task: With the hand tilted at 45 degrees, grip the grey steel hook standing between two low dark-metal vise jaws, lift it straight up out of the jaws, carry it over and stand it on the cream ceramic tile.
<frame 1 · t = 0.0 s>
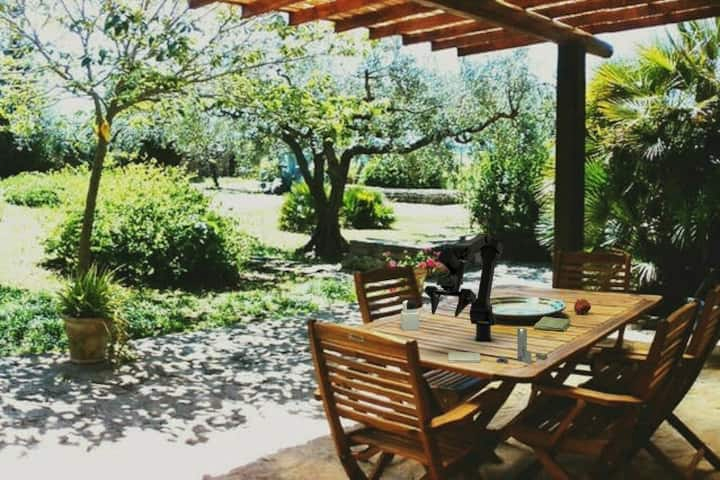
hand: (444, 315, 258), 15 cm above the table, tool tilted 35°, fingers open, 9 cm apart
red spiky fruit: (582, 315, 331), on the table
medicine bottle: (410, 329, 309), on the table
steel hook: (522, 359, 253), on the table
cream ceramic tile: (464, 358, 256), on the table
vise jaws: (522, 359, 253), on the table
washcloth: (552, 328, 306), on the table
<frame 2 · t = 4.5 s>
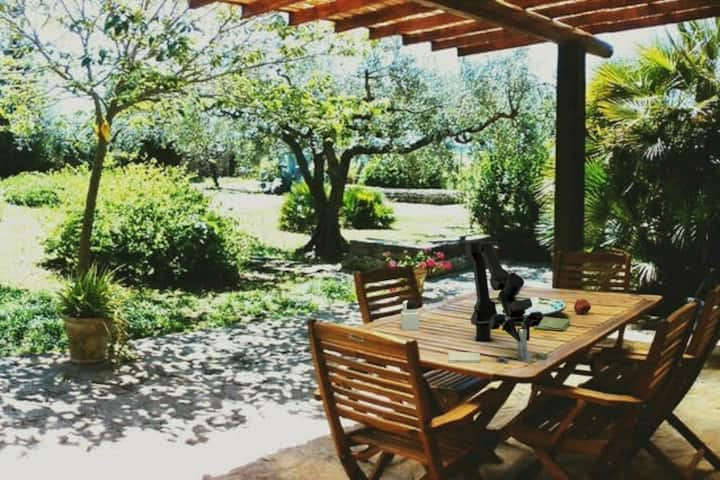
hand: (523, 340, 251), 7 cm above the table, tool tilted 45°, fingers closed on steel hook, 3 cm apart
steel hook: (522, 359, 253), on the table, touching gripper
everything else where it was.
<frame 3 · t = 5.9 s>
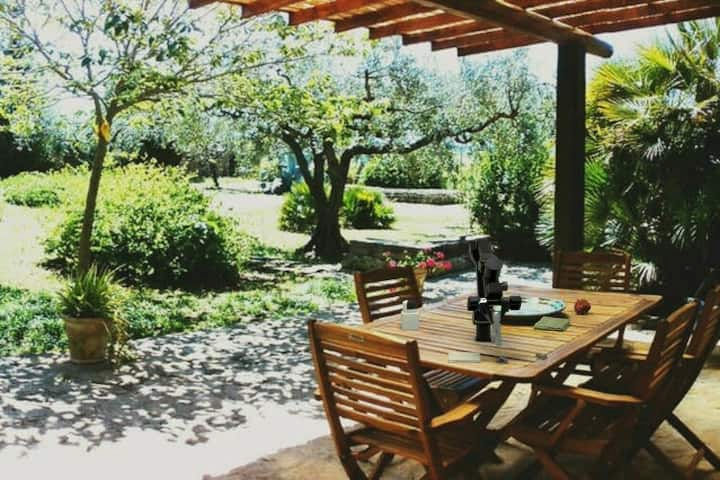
hand: (496, 323, 250), 13 cm above the table, tool tilted 45°, fingers closed on steel hook, 3 cm apart
steel hook: (496, 342, 252), point 6 cm above the table, touching gripper
everything else where it was.
when the fingers open (9 cm above the table, at t = 7.6 s): steel hook drops 1 cm, resting on cream ceramic tile.
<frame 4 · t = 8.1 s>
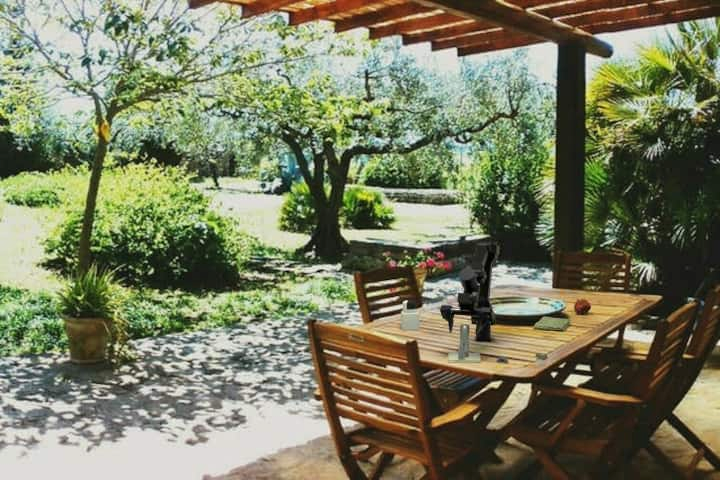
hand: (463, 333, 254), 9 cm above the table, tool tilted 45°, fingers open, 9 cm apart
steel hook: (464, 355, 256), point 1 cm above the table, touching cream ceramic tile
everything else where it was.
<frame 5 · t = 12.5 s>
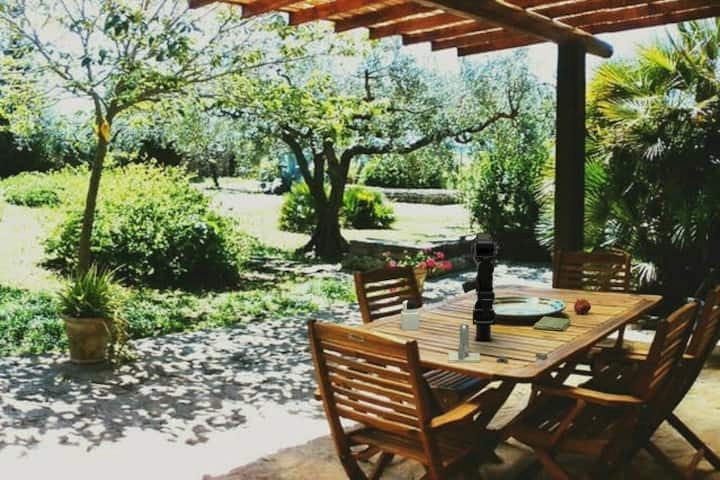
hand: (485, 314, 268), 13 cm above the table, tool pointing down, fingers open, 9 cm apart
nothing on the table moved.
at the end: steel hook inside the target area (0.2 cm from its centre), point 0.8 cm above the table; steel hook tilted 0°; the gripper is holding nothing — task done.
